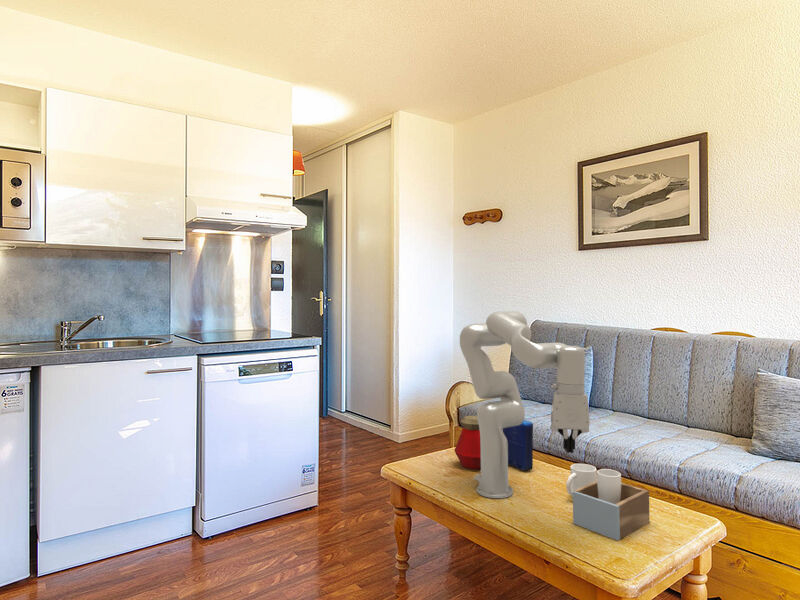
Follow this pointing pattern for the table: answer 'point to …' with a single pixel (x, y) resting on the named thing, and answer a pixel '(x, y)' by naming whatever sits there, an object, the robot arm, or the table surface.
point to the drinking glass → (609, 485)
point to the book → (520, 445)
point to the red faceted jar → (469, 444)
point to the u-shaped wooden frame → (626, 506)
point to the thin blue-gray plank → (596, 515)
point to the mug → (580, 477)
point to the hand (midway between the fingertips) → (569, 451)
